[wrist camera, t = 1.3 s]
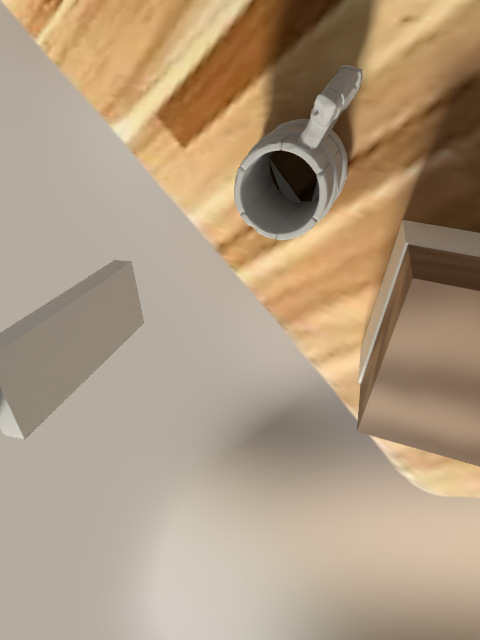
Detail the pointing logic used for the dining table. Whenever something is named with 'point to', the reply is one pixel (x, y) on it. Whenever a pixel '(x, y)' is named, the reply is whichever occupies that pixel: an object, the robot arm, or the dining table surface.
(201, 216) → the dining table surface
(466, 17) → the dining table surface
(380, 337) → the walnut slab
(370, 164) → the dining table surface
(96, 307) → the robot arm
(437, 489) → the dining table surface
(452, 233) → the grey slab
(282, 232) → the mug
